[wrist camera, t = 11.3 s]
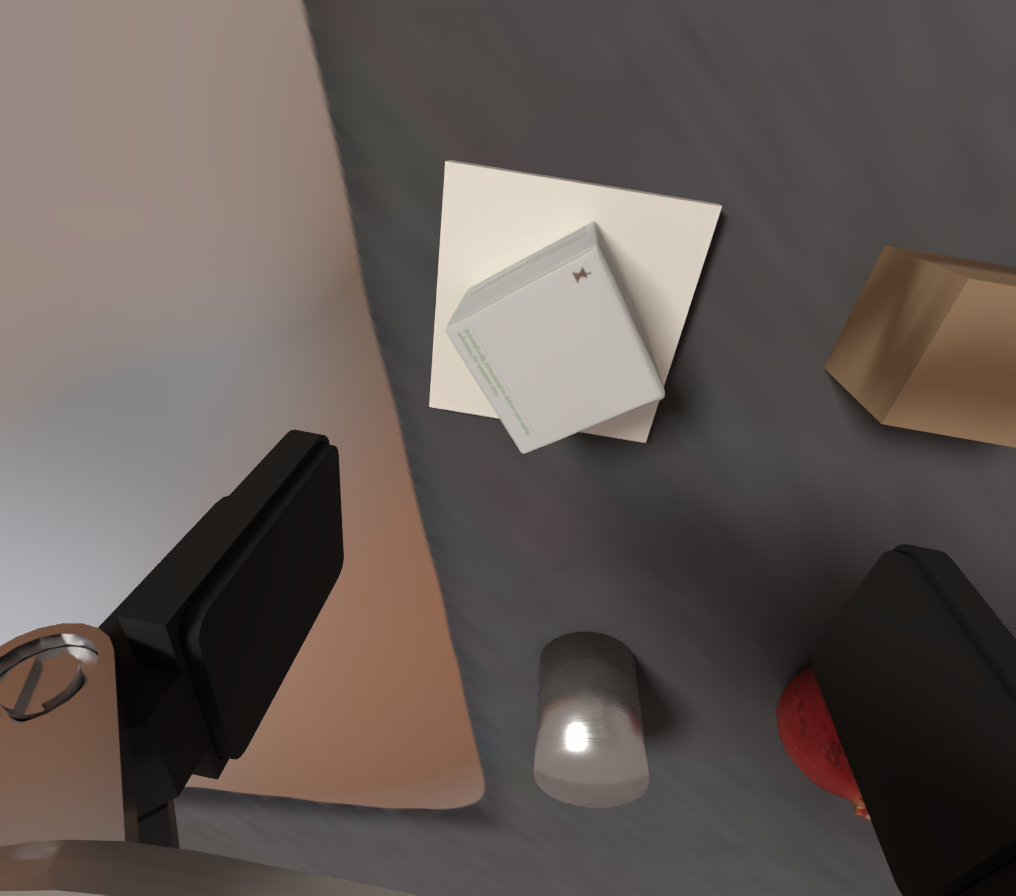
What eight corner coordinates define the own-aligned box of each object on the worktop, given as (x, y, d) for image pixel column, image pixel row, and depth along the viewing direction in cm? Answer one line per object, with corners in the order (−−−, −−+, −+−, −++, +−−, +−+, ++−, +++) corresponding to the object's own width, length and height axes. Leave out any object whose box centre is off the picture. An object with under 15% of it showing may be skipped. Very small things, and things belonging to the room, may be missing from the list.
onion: (756, 643, 32) (807, 786, 25) (863, 631, 30) (949, 779, 23) (762, 702, 34) (810, 846, 28) (861, 694, 33) (937, 843, 26)
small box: (463, 287, 21) (438, 328, 17) (595, 214, 20) (603, 240, 15) (529, 402, 24) (521, 462, 20) (652, 346, 22) (673, 400, 18)
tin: (548, 624, 32) (544, 737, 27) (646, 641, 32) (664, 757, 26) (532, 684, 36) (525, 796, 30) (621, 699, 36) (632, 815, 30)
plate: (449, 159, 20) (445, 161, 19) (716, 203, 20) (721, 206, 19) (433, 399, 25) (429, 406, 24) (643, 434, 25) (645, 442, 24)
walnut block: (884, 244, 20) (968, 278, 16) (1016, 267, 20) (1136, 307, 16) (822, 367, 23) (881, 424, 18) (939, 387, 23) (1024, 449, 18)
